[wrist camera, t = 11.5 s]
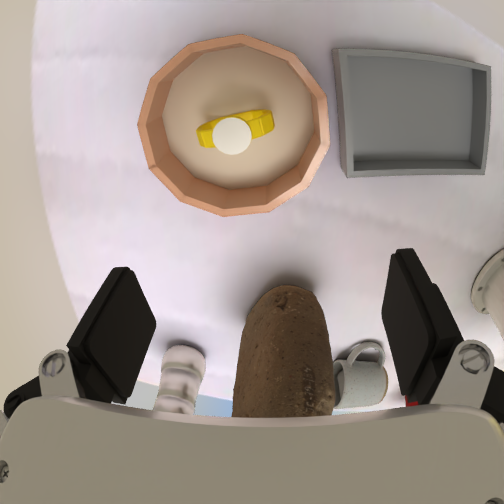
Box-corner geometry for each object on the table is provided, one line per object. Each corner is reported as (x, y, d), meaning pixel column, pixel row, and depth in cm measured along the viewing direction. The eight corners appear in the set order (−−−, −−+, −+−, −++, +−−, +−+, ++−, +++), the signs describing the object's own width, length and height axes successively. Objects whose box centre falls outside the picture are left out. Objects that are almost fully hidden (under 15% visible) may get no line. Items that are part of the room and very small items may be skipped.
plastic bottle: (172, 333, 43) (138, 461, 26) (214, 349, 44) (194, 477, 28) (161, 354, 46) (131, 468, 30) (200, 368, 48) (180, 482, 31)
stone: (277, 263, 34) (276, 440, 18) (329, 284, 36) (355, 448, 19) (235, 325, 41) (218, 469, 24) (282, 340, 42) (281, 478, 26)
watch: (267, 98, 24) (273, 107, 19) (274, 128, 25) (281, 145, 20) (199, 114, 24) (186, 128, 20) (207, 143, 26) (197, 164, 21)
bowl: (309, 33, 20) (318, 27, 16) (324, 184, 29) (332, 206, 25) (145, 61, 22) (122, 63, 18) (179, 200, 30) (165, 223, 26)
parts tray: (475, 63, 19) (490, 66, 17) (471, 165, 25) (484, 175, 23) (331, 49, 21) (338, 48, 19) (340, 167, 27) (347, 177, 25)
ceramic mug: (367, 378, 48) (374, 415, 41) (323, 376, 47) (327, 416, 41) (394, 339, 42) (406, 381, 35) (346, 337, 42) (354, 381, 35)
